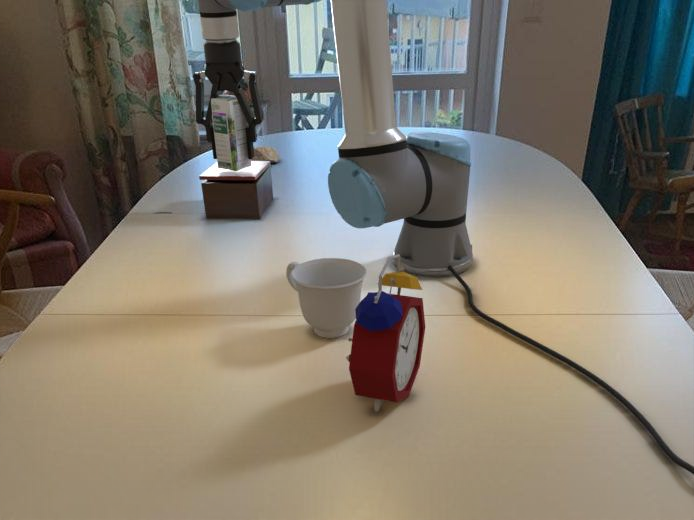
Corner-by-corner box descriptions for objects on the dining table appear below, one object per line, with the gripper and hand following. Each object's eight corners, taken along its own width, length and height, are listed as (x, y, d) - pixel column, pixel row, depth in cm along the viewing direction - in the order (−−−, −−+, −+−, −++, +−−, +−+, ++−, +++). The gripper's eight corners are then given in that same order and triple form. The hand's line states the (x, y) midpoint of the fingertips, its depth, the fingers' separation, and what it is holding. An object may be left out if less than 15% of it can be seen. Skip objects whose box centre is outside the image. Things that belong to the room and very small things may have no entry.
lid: (255, 180, 161) (254, 176, 160) (199, 179, 162) (199, 176, 162) (270, 164, 174) (270, 161, 174) (218, 164, 176) (218, 160, 175)
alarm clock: (392, 424, 98) (395, 281, 86) (332, 413, 101) (327, 272, 88) (424, 373, 109) (431, 239, 97) (369, 364, 111) (369, 232, 99)
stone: (242, 159, 209) (240, 142, 207) (279, 158, 210) (277, 141, 207) (240, 167, 203) (238, 149, 200) (277, 166, 203) (276, 148, 200)
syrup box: (216, 168, 166) (208, 97, 158) (233, 162, 170) (226, 92, 161) (236, 172, 164) (228, 100, 155) (253, 165, 168) (246, 95, 159)
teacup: (314, 304, 129) (311, 248, 123) (382, 326, 121) (382, 268, 115) (266, 329, 122) (261, 270, 116) (335, 354, 114) (333, 293, 108)
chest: (259, 219, 167) (256, 183, 162) (205, 218, 168) (201, 183, 163) (273, 198, 179) (270, 164, 174) (223, 197, 180) (219, 164, 176)
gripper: (272, 37, 154) (281, 153, 168) (179, 38, 156) (195, 153, 170) (265, 42, 148) (274, 162, 162) (168, 43, 150) (185, 161, 164)
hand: (234, 157), depth 166 cm, fingers closed on syrup box, 7 cm apart
